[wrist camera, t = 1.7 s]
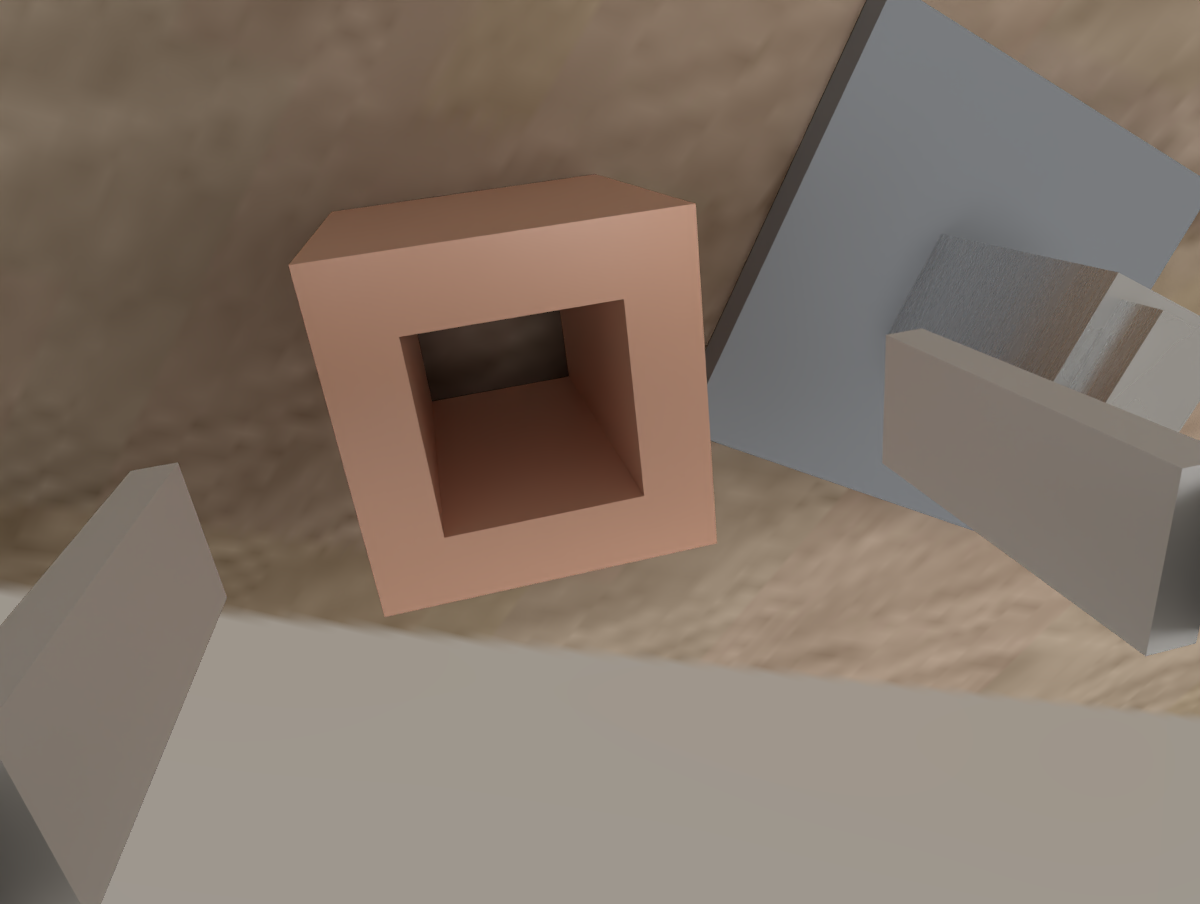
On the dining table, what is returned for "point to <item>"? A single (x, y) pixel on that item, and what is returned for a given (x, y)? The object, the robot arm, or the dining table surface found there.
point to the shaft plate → (916, 231)
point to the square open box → (521, 413)
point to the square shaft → (1062, 325)
